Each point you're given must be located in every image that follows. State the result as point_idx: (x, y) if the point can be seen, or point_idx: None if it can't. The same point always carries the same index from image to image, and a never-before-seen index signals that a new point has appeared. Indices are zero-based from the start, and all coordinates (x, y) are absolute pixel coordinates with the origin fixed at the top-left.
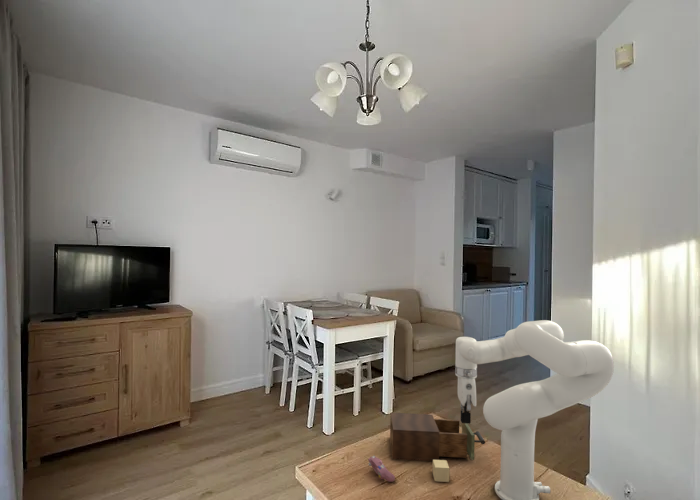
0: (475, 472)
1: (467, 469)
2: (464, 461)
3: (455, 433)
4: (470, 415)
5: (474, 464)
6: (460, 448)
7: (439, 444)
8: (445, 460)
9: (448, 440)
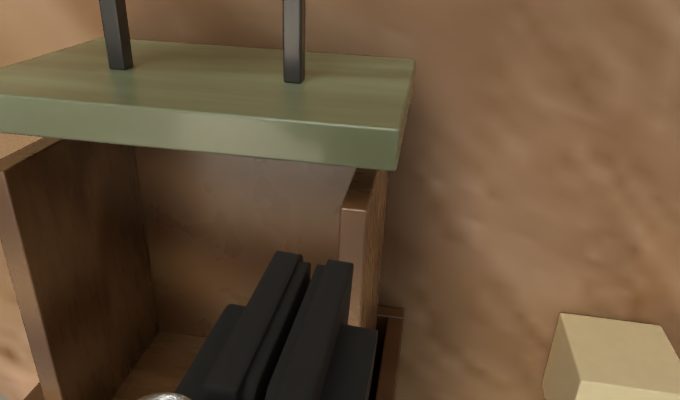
0: (565, 98)
1: (515, 147)
2: None
3: None
4: (322, 355)
5: (444, 62)
6: (381, 205)
7: None
8: (583, 387)
9: None
